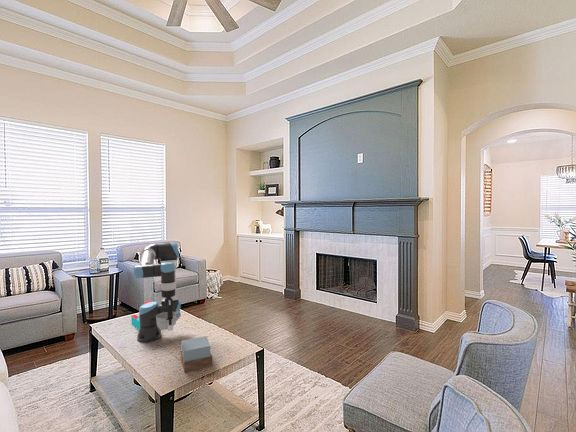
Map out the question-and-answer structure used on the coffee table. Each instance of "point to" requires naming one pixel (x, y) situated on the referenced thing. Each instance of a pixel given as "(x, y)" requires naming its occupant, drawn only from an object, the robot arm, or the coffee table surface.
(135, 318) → the building blocks toy
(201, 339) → the top block
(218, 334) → the coffee table surface
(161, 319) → the teacup
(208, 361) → the base block
